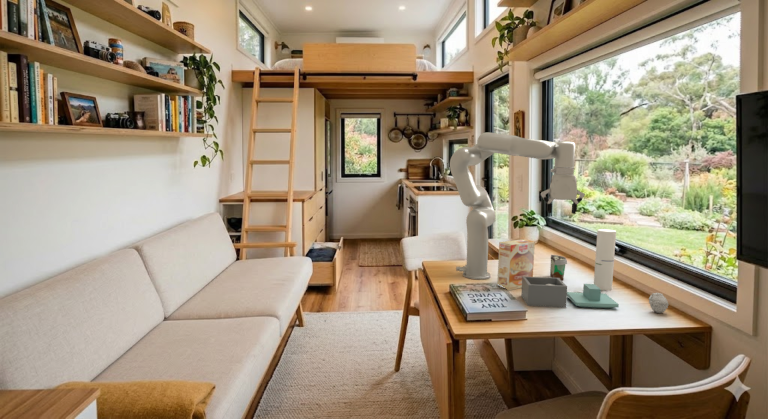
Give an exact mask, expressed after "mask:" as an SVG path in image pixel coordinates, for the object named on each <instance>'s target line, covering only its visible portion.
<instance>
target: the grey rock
mask: <svg viewBox="0 0 768 419" xmlns="http://www.w3.org/2000/svg"><path fill="white" fill-rule="evenodd" d="M648 303H649V306H650V308H651V310H652V311H653V312H655V313H658V314H661V313H662V314H663V313H665V312H666V310H667V309H668V308H669V307H668V306H669V305H670V304H669V302H668V299H667V298H666V297H665V296H664V294H663V293H661V292H655V293H653V292H652V293H651V294H650V296H649V298H648Z"/></svg>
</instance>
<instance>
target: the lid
mask: <svg viewBox="0 0 768 419" xmlns="http://www.w3.org/2000/svg"><path fill="white" fill-rule="evenodd" d="M582 291H583V292H576V291H575V292H574V291H573V292H572V291H571V292H570V291H567V297H568V299H569V300H570V301H571V303H573V304H574V305H575V306H576V307H577V306H578V307H579V308H597V309H598V308H600V309H601V308H602V309H611V308H619V303H618V302H617V301H615V299H613V298H612V297H611V296H609V295H608V294H607V293H602V290H601V289H600V288H599V287H597V286H596V285H595V284H594V283H583V290H582Z"/></svg>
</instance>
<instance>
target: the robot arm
mask: <svg viewBox="0 0 768 419" xmlns="http://www.w3.org/2000/svg"><path fill="white" fill-rule="evenodd" d="M493 154H501V155H506V156H512V157H513V156H517V157H518V156H519V157H523V158H531V159H537V160H551V159H554V167H553V168H551V169H550V173H553V175H551V180H550V184H549V188H547V189H546V190H544V191H541V193H540V196H541V197H542V200H544V202H545V203H546V212H547V213H548V214H552V207H553V204H552V202H554V200H556V201H557V200H558V201H559V200H560V201H561V200H562V201H563V200H564V201H571V202H572V204H571V214H573V215H576V214H577V213H576V212H578V205H579V204H580V203H581V202H582V201H583V199H584V198H585V195H586V194H585V193H584V192H583V191H580V190H578V182H577V176H576V175H574V174H575V173H574V172H575V158H576V144H575V142H574V141H550V140H549V141H548V140H540V139H532V138H525V137H520V136H518V135H513V134H505V133H498V132H497V133H495V132H483V133H481V134H479V135H478V137H477V142H476V144H475V145H473V146H472V147H471V146H463V147H460V148H458V149H456V150H455V151H454V153H452V156H451V157H450V160H449V170H450V172H451V175H452V178H453V180H454V184H455V186H456V188H457V192H458V194H459V197H460V200H461V202H462V205H464V206H466V207H469V208H471V207H472V209H471V211H469V213H467V216H466V219H465V220H466V222H465V224H466V232H467V233H466V234H467V236H466V237H467V238H466V240H467V241H466V242H467V243H466V245H467V246H466V264H464V266H456V268H455V269H456V272H461V273H462V276H463V277H464V278H467V279H472V280H487V279H490V278H491V273H490V272H488V261H489V260H488V259H489V256H488V255H489V230H488V227H490V226H492V225H493V224H494V222H495V220H496V212H495V210H494V207H493V204H492V201H491V198H490V196H489V194H488V192H487V190H486V189H485V188H484V187H483V186H481V185H477V184H476V181H475V180H474V179H475V178H474V177H473V174H472V173H471V171H470V169H469V166H477V165H479V164H481V163H482V162H483V161H486V159H487V158H490V157H491V156H492V155H493ZM547 194H548V197H549V198H547V196H546V195H547ZM577 195H579V197H578V196H577ZM577 197H578V198H577Z"/></svg>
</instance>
